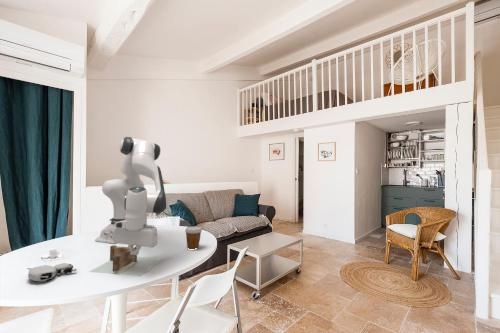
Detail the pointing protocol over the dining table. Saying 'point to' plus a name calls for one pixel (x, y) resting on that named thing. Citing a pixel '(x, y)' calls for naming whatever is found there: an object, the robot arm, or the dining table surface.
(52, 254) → the teacup and saucer
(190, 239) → the disposable coffee cup
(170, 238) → the dining table surface
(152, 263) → the card
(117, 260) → the hinged fence panel
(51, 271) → the robot toy
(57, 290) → the dining table surface
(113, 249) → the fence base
